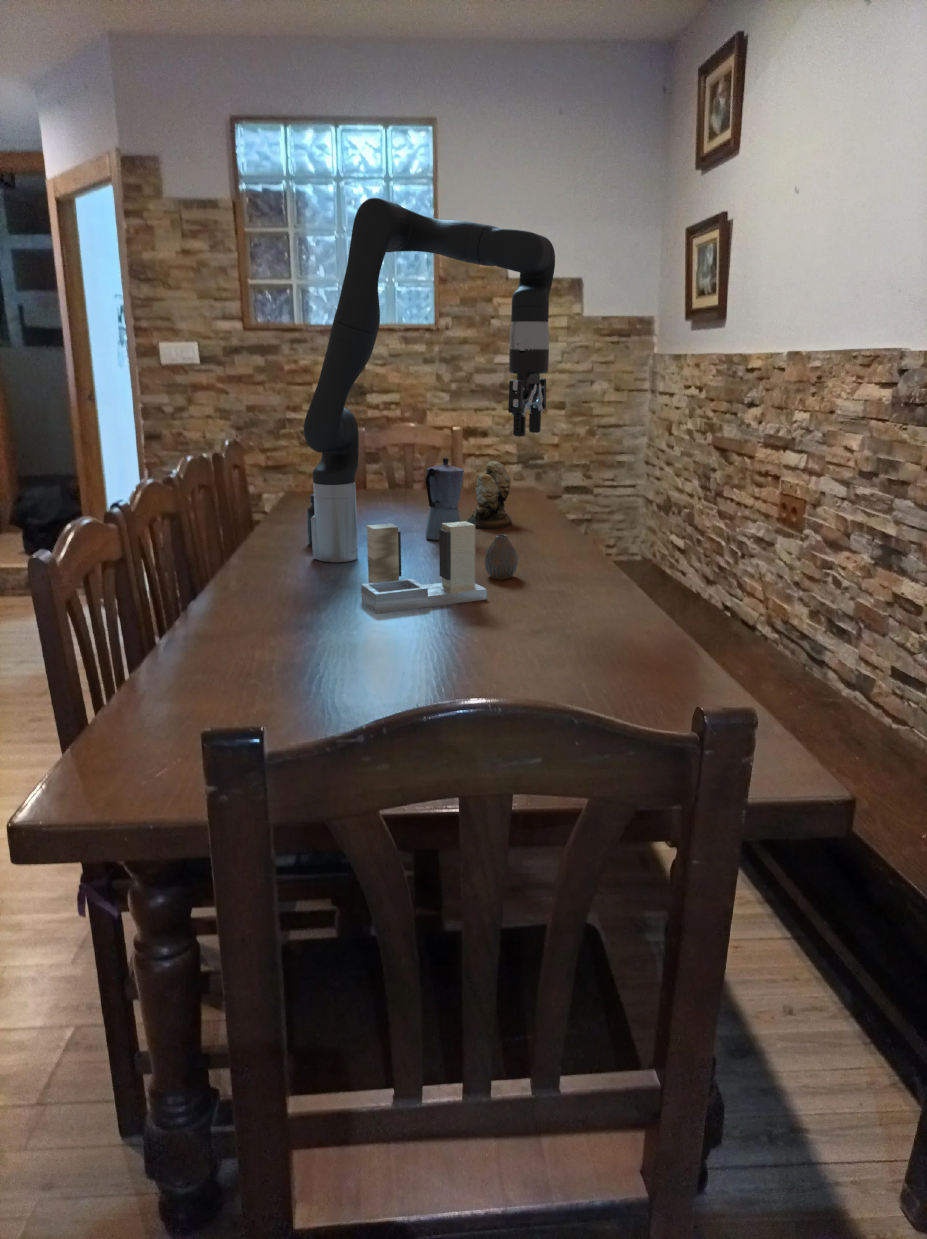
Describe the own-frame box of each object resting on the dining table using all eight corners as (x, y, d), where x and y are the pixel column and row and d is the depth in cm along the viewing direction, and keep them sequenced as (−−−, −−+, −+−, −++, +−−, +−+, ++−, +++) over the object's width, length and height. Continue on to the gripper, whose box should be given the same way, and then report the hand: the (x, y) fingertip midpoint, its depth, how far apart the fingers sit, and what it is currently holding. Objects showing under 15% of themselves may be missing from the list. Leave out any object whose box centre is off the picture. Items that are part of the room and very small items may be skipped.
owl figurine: (474, 517, 247) (475, 456, 242) (515, 518, 245) (516, 458, 240) (462, 528, 230) (463, 463, 225) (506, 530, 228) (508, 465, 223)
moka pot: (473, 535, 221) (473, 456, 216) (446, 546, 208) (446, 462, 202) (439, 532, 225) (439, 454, 219) (411, 543, 212) (410, 460, 206)
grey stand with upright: (376, 613, 154) (374, 536, 150) (361, 602, 161) (359, 528, 157) (486, 599, 163) (487, 526, 159) (468, 589, 170) (468, 518, 166)
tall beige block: (375, 589, 170) (373, 529, 166) (368, 584, 173) (366, 525, 170) (401, 586, 172) (400, 526, 169) (394, 581, 176) (393, 523, 172)
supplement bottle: (302, 544, 210) (299, 494, 207) (324, 539, 215) (322, 491, 212) (319, 548, 206) (317, 498, 202) (342, 543, 211) (340, 494, 207)
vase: (515, 582, 176) (515, 539, 173) (481, 580, 177) (481, 538, 174) (519, 574, 182) (520, 533, 179) (487, 572, 183) (487, 531, 181)
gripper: (524, 347, 172) (522, 430, 177) (496, 347, 160) (495, 436, 164) (560, 347, 169) (557, 432, 174) (534, 347, 157) (532, 438, 161)
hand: (527, 434), depth 169 cm, fingers open, 8 cm apart
